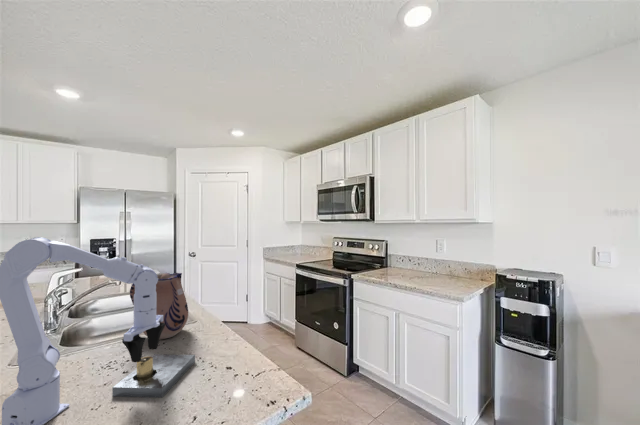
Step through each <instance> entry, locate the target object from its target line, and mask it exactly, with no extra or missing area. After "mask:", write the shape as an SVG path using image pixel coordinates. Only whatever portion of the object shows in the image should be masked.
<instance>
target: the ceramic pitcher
mask: <svg viewBox="0 0 640 425" xmlns="http://www.w3.org/2000/svg"><path fill="white" fill-rule="evenodd" d="M156 274H157V278H158V282H157V284H156V292H157V302H156V315H163V321H162V322H160V323H165V327H164V329H163V331H162V333H161V335H160V339H159V340H165V339H170V338H172V337H174V336H176V335H177V334H179V333H181V331H182V330H183V328H184V327H185V325H186V324H187V322H188V318H189V308H188V302H187V298H186V295H185V292H184V289H183V288H184V287H183V285H182V276H183V273H182V272H174V273H170V272H159V273H156ZM134 294H135V285H134V284H133V283H131V286H130V288H129V297H130V299H131V302H132V304H133V306H134ZM142 333H143V334H144V335H145V336H146V337H147V333H146V331H144V332H142Z"/></svg>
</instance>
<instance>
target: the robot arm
mask: <svg viewBox="0 0 640 425" xmlns="http://www.w3.org/2000/svg"><path fill="white" fill-rule="evenodd" d="M127 259H128V258H127V257H125V256H121V257H119V256H115V257H113V258H106V257H104V256H102V255H98V254H96V253H94V252H91V251H87V250H86V249H82V248H80V247H78V246H75V245H72V244H69V243H66V242H61V241H57V240H51V239H49V238H46V237H42V236H41V237H39V236H37V237H32V238H29V239H24V240H21V241H19V242H17V243H16V244H14V245H13V246H12V247H11V248H10V249H8V250H7V251H6V252H5V254H4V258H3V260H2V262H1V263H0V303H1V305H2V309H3V311H4V314H5V317H6V319H7V323H8V325H9V328H10V331H11V334H12V337H13V339H14V342H15V345H16V348H17V361H16V362H17V363H16V364H17V366H18V372H17V375H16V382H17V384H18V385H17V388H16V390H15V391H14V392H13V393H11V394H10V395H9V396H8V397H7V398H5V399H4V401H3V403H2V405H1V425H45V424H47V423H48V422H50V421H51V420H52V419H54V418H55V417H56V416H57V415H59V414H61V413H62V412H63V411H64V410H66V409H67V408H68V407H70V403H61V402H60V401H61V399H60V398H61V397H60V396H61V372H60V371H59V370H58V369H57V367H56V366H57V363H58V362H59V361H60V357H61V352H60V350H59V348H57V347H55V346H54V345H53V344H52V342H51V339H49V337H47V335H46V333H45V330H44V327H43V324H42V321H41V318H40V314H39V312H38V308H37V306H36V302H35V300H34V296H33V294H32V290H31V288H30V285H29V282H28V277H29V276H30V275H31V274H32V273H33V272H34V271H35V270H36V269H37V267H38V266H39V265H41V264H42V263H44V262H46V261H47V260H49V263H55V262H64V261H68V262H69V261H70V262H73V263H75V264H76V263H77V264H80V265H84V266H87V267H91V268H93V269H97V270H100V271H102V274H103V276H104V277H105V278H109V279H112V280H115V281H117V282H118V281H119V282H122V283H125V284H128V285H130V284H131V285H132V284H134V285H135V294H134V305H133V325H132V326H131V327H130V328H129V329H128V331H126V332H125V333H123V338H122V339H121V340H122V344H123V345H124V346H125V347H126V349H127V351H128V353H129V356H130V358H131V362H132V363H137V362H140V361H141V358H143V348H144V344H145V342H146V340H147V346H148V349H149V350H157V349H158V347H159V346H158V345H159V343H160V340H161V339H160V335H161V333H162V331H163V329H164V327H165V323H160V322H162V321H163V315H156V302H157V292H156V284H157V282H158V278H157V274H158V273H157V272H156V271H155V270H154V269H153V268H151V267H149V265H148V266H147V265H144V264H143V263H140V264H138V263H135V262H132V261H129V260H127ZM144 331H146V333H147V336H146V337H145V336H143V337H142V336H141V335H140V334H142V333H143V332H144Z"/></svg>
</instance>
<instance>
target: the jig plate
mask: <svg viewBox="0 0 640 425" xmlns="http://www.w3.org/2000/svg"><path fill="white" fill-rule="evenodd" d="M151 357H153V377H152V378H150V379H147V380H144V381H137V368H135V369H134V370H133V371H132V372H131V371H130V373H129V374H127V375H126V376H125V377H124V378H122V379H121V380H119V382H118V383H116V384H115V385H113V387H112V389H111V390H112V394H111V396H112V398H113V397H115V398H116V397H119V398H120V397H121V398H157V397H158V398H163V397H165V395H167V393H169V391H170V390H171V388H173V387H174V386H175V385H176V383H178V381H180V379H181V378H182V377H183V376H184V375H185V374H186V373H187V372H188V370H189V369H190V368H191V367H192V366H193V365H194V364H195V363H196V354H171V353H169V354H163V353H161V354H159V353H158V354H157V353H155V354H153V355H151ZM172 386H173V387H172Z"/></svg>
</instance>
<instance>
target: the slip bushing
mask: <svg viewBox="0 0 640 425" xmlns="http://www.w3.org/2000/svg"><path fill="white" fill-rule="evenodd" d="M136 369H137V381H144V380H147V379H150V378H152V377H153V357H152V355H151V356H149V355H148V356H142V358H141V361H140V362H136Z"/></svg>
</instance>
